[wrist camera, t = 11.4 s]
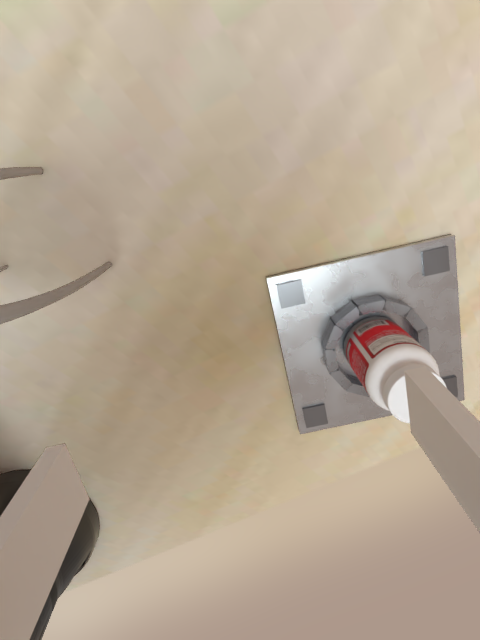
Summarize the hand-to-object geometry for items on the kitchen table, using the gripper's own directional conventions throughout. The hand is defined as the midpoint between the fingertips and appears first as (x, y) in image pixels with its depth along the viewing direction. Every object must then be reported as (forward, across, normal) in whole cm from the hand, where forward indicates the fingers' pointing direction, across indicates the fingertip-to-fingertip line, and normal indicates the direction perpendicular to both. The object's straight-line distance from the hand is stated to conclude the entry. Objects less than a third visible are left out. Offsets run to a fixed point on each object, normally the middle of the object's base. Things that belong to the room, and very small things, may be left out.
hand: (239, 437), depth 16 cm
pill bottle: (+26, +12, -10) cm, 30 cm away
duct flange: (+27, +12, -10) cm, 31 cm away
